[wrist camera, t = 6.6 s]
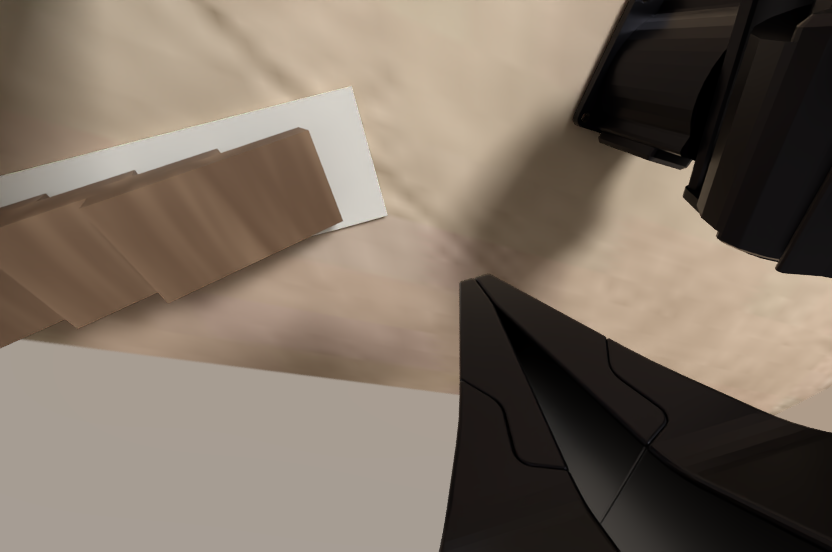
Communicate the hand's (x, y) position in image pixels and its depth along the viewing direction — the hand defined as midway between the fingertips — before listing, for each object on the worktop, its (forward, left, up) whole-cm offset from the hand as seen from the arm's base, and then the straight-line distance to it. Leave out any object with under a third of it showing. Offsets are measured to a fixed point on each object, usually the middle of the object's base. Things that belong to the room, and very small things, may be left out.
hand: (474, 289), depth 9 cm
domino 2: (+3, -8, -11) cm, 14 cm away
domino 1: (+1, -4, -11) cm, 12 cm away
